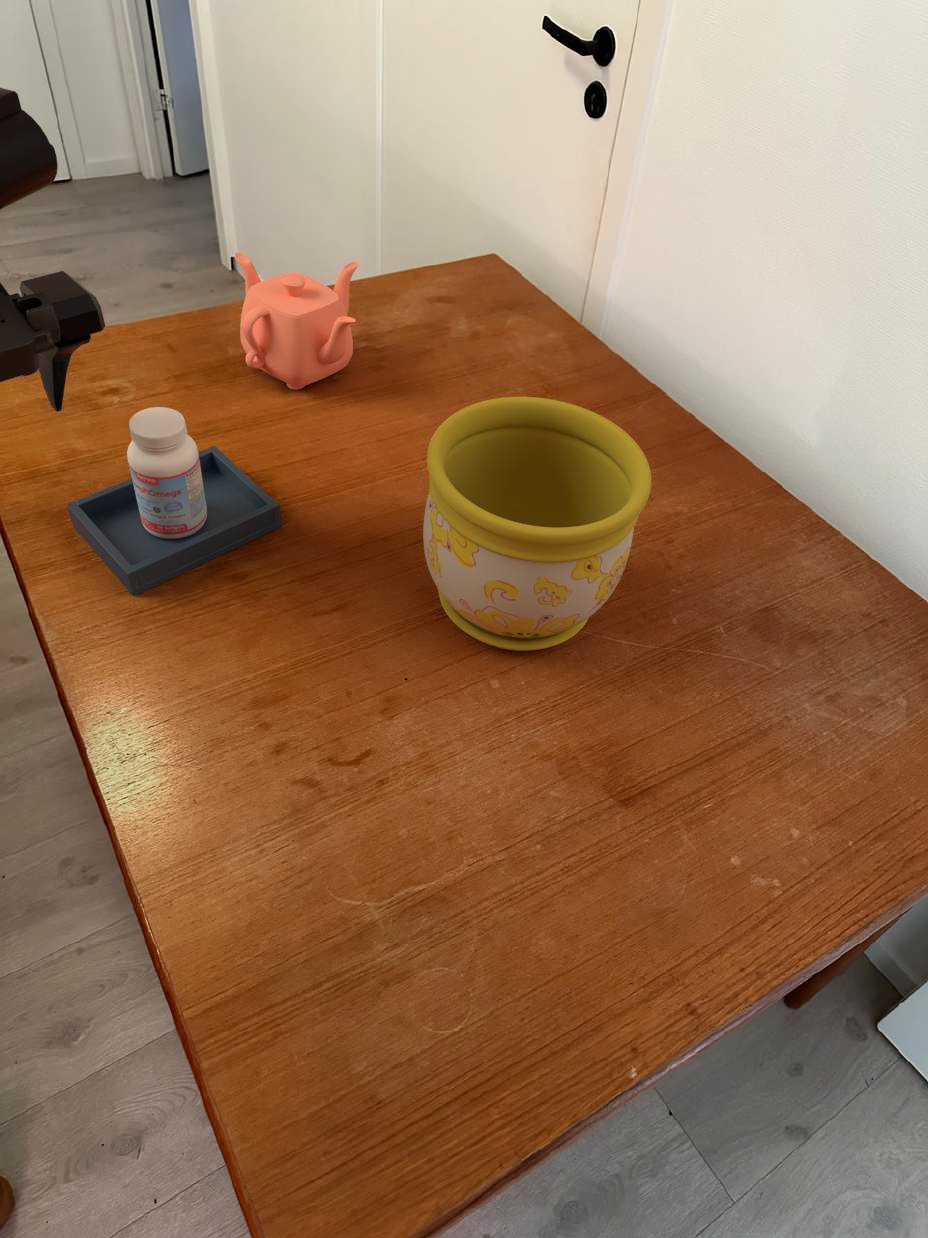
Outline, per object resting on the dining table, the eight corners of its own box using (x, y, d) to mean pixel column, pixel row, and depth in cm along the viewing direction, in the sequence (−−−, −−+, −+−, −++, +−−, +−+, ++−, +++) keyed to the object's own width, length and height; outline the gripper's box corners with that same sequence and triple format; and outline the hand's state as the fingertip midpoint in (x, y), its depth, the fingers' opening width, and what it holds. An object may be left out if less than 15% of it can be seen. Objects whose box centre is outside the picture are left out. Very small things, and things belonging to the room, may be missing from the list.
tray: (133, 596, 77) (127, 574, 75) (73, 526, 82) (65, 504, 80) (281, 527, 85) (279, 505, 83) (217, 467, 90) (214, 445, 88)
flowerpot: (418, 531, 86) (427, 388, 74) (596, 540, 88) (633, 401, 76) (415, 672, 74) (426, 528, 62) (622, 680, 75) (672, 541, 63)
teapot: (243, 333, 108) (234, 246, 100) (358, 339, 110) (359, 254, 102) (229, 398, 98) (218, 307, 90) (355, 404, 100) (355, 315, 92)
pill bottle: (130, 533, 81) (105, 433, 73) (161, 494, 85) (140, 395, 77) (191, 548, 81) (172, 449, 72) (219, 507, 85) (204, 409, 76)
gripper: (-180, 325, 51) (-81, 525, 62) (118, 250, 60) (156, 436, 72) (-237, 251, 56) (-136, 449, 67) (46, 193, 65) (92, 375, 77)
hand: (1, 427), depth 71 cm, fingers open, 9 cm apart
